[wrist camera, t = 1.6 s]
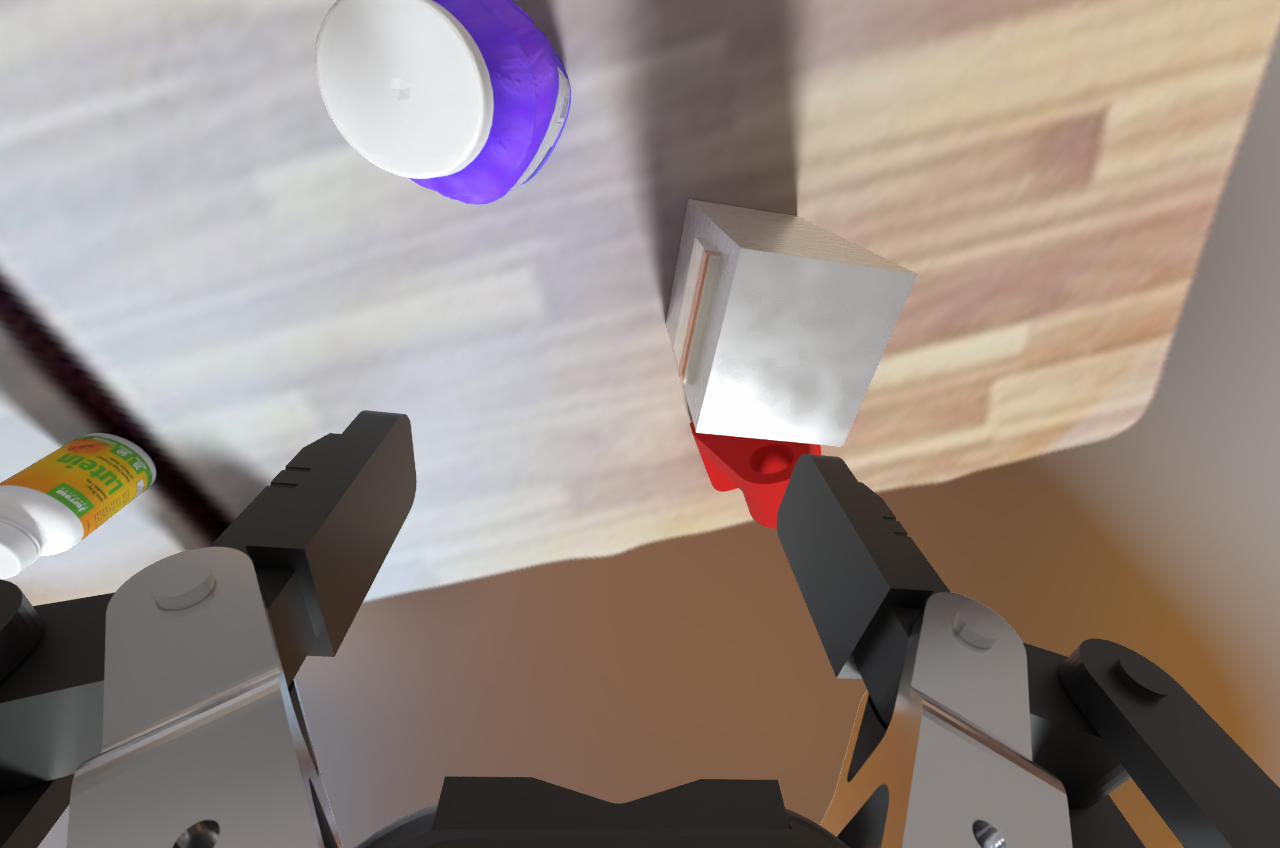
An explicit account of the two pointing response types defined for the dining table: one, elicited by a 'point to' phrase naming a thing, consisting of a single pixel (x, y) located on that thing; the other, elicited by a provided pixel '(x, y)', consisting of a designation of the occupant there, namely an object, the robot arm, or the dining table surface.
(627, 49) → the dining table surface
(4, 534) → the supplement bottle
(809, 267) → the dispenser
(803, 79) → the dining table surface
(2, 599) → the robot arm
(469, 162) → the bottle
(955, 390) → the dining table surface
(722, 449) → the bracket
